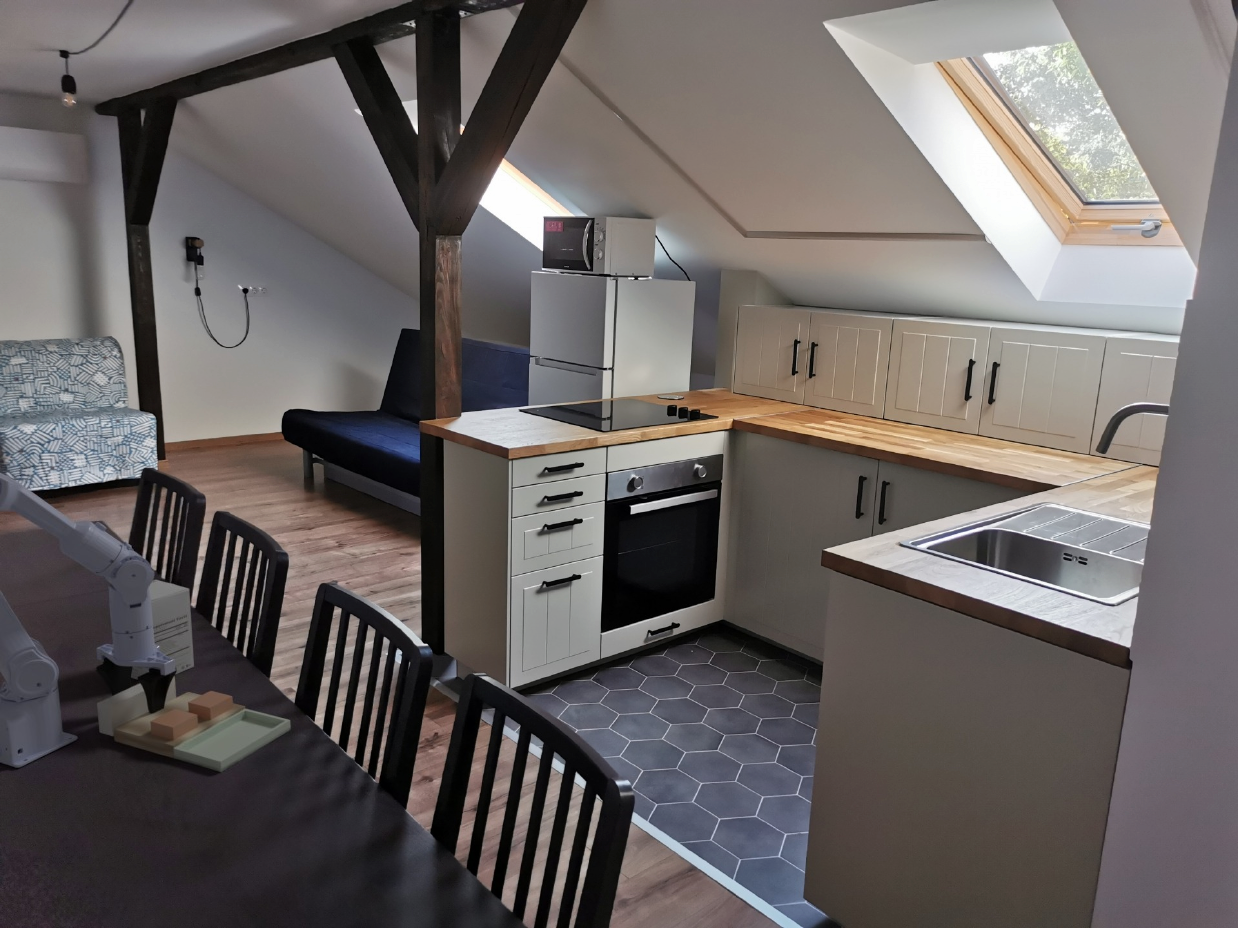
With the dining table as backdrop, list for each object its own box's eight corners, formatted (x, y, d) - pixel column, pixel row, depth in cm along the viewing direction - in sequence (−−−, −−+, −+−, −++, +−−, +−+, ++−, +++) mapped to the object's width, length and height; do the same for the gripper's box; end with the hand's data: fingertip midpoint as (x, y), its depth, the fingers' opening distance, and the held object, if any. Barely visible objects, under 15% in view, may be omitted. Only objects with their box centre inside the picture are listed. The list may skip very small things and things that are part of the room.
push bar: (113, 737, 143) (110, 706, 142) (99, 733, 144) (96, 703, 143) (176, 704, 154) (174, 676, 153) (163, 701, 155) (161, 673, 154)
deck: (174, 758, 137) (173, 745, 137) (114, 740, 141) (113, 728, 141) (245, 717, 150) (245, 706, 149) (189, 703, 154) (188, 691, 154)
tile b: (210, 719, 145) (210, 707, 144) (188, 714, 146) (188, 702, 146) (233, 707, 149) (232, 696, 148) (211, 702, 150) (210, 690, 150)
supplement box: (116, 674, 164) (109, 592, 161) (162, 656, 172) (156, 578, 169) (150, 685, 160) (144, 602, 157) (196, 667, 168) (190, 587, 165)
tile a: (173, 739, 138) (172, 727, 138) (151, 733, 140) (150, 721, 139) (198, 726, 142) (197, 714, 142) (175, 720, 144) (174, 708, 144)
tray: (221, 771, 134) (220, 761, 133) (174, 758, 137) (173, 748, 137) (290, 729, 146) (290, 719, 146) (245, 717, 150) (245, 708, 149)
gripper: (188, 625, 147) (194, 706, 149) (120, 611, 152) (128, 689, 155) (150, 641, 140) (158, 725, 143) (81, 626, 146) (90, 707, 149)
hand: (140, 708), depth 149 cm, fingers open, 7 cm apart
